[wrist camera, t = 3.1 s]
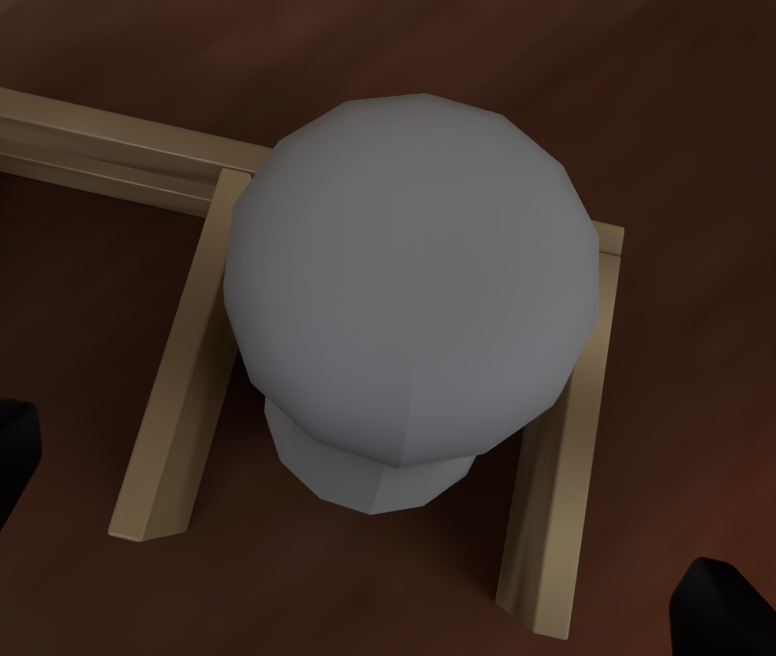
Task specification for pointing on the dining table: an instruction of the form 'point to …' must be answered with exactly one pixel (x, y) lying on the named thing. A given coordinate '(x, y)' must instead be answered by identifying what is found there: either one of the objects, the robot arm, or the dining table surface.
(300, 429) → the salt shaker
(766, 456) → the dining table surface
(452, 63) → the dining table surface
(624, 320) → the dining table surface
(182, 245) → the dining table surface
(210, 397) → the rack
